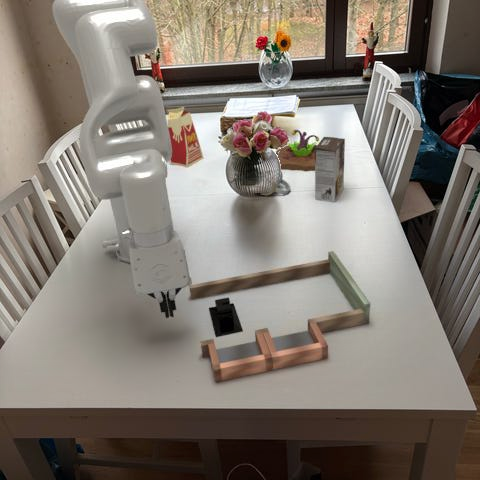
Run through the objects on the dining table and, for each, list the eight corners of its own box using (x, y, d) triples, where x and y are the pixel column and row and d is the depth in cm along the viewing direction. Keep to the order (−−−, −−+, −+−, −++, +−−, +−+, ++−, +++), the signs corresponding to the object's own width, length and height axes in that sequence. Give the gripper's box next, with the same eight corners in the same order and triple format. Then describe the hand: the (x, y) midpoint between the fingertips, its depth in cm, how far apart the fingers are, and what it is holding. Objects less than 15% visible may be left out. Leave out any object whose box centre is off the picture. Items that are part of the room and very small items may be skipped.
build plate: (248, 338, 97) (247, 320, 95) (212, 345, 96) (209, 327, 94) (235, 299, 108) (234, 282, 105) (203, 306, 106) (200, 289, 104)
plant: (275, 150, 180) (273, 120, 174) (329, 149, 177) (330, 118, 171) (271, 173, 163) (269, 141, 157) (331, 172, 160) (331, 139, 154)
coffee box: (323, 186, 151) (323, 136, 142) (344, 189, 148) (345, 137, 140) (314, 199, 144) (314, 147, 135) (335, 202, 141) (337, 149, 133)
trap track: (208, 383, 87) (205, 363, 84) (190, 296, 109) (187, 278, 106) (384, 345, 92) (386, 325, 89) (333, 269, 113) (333, 251, 111)
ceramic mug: (252, 196, 149) (251, 172, 145) (259, 184, 155) (258, 161, 151) (287, 198, 146) (287, 175, 142) (292, 186, 153) (292, 163, 148)
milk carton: (203, 158, 178) (196, 103, 167) (188, 167, 171) (179, 111, 161) (183, 154, 182) (175, 101, 172) (167, 164, 176) (158, 108, 165)
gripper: (110, 250, 84) (131, 333, 93) (197, 234, 86) (209, 317, 95) (111, 230, 90) (131, 309, 99) (191, 216, 92) (204, 295, 101)
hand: (169, 313), depth 97 cm, fingers closed
